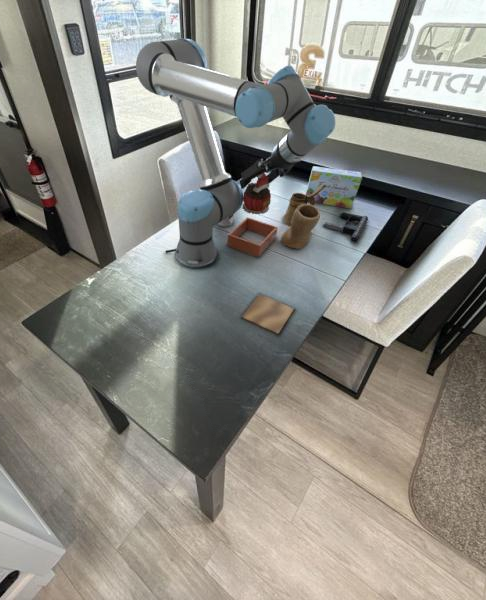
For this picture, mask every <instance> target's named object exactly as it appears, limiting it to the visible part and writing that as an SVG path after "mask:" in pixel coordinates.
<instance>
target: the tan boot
mask: <svg viewBox="0 0 486 600" xmlns="http://www.w3.org/2000/svg"><path fill="white" fill-rule="evenodd" d="M320 218H321V211H320V210H319V209H318V208H317V207H316V205H314V206H313V205H310V203H307V204H302V205H300V206H298V207H297V208H296V210H295V211H294V214H293V217H292V220H291V225H289V227H288V228H287V229H286V231H284V233H283V234H282V235H281V237H280V243H282V244H283V245H285V246H286V247H288V248H291V249H297V250H298V249H302V248H303V247H305V245H307V244H308V242H309V240H310V239H311V237H313V234H314V233H313V232H312V231H313V230H314V229H315V227H317V225H318V224H319V221H320Z"/></svg>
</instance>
